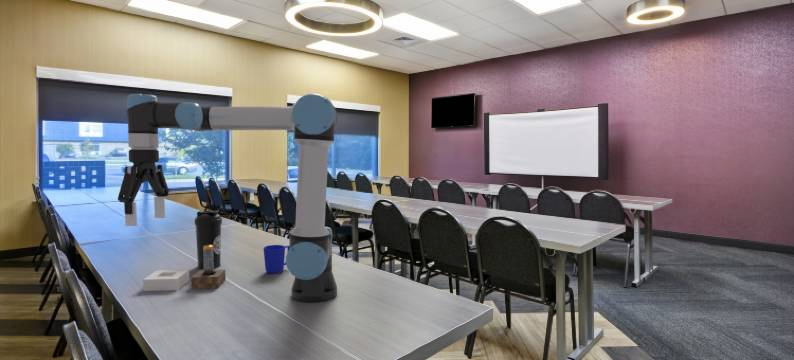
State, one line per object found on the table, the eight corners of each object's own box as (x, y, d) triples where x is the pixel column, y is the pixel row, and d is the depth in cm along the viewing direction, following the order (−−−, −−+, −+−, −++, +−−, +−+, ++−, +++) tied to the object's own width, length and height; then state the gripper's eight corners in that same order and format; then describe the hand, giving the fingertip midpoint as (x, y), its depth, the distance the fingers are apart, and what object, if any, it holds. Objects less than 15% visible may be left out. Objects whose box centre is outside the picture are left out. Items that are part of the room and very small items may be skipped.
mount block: (225, 280, 155) (225, 269, 155) (218, 288, 146) (218, 276, 146) (199, 280, 154) (199, 270, 154) (191, 288, 145) (191, 277, 145)
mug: (296, 269, 171) (296, 244, 170) (273, 276, 160) (273, 250, 160) (282, 265, 175) (282, 242, 174) (259, 272, 165) (259, 247, 164)
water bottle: (216, 269, 168) (215, 212, 166) (190, 269, 168) (189, 212, 166) (226, 263, 178) (225, 209, 176) (202, 262, 178) (201, 208, 176)
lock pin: (214, 282, 152) (214, 244, 151) (212, 285, 149) (211, 246, 148) (205, 283, 151) (205, 244, 150) (202, 285, 148) (202, 246, 147)
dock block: (189, 280, 154) (189, 269, 154) (177, 290, 143) (177, 278, 143) (157, 280, 153) (157, 270, 153) (143, 291, 142) (143, 279, 142)
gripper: (156, 148, 134) (158, 214, 135) (99, 148, 109) (103, 229, 110) (179, 148, 134) (181, 214, 135) (128, 148, 109) (131, 229, 110)
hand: (146, 221), depth 123 cm, fingers open, 13 cm apart
